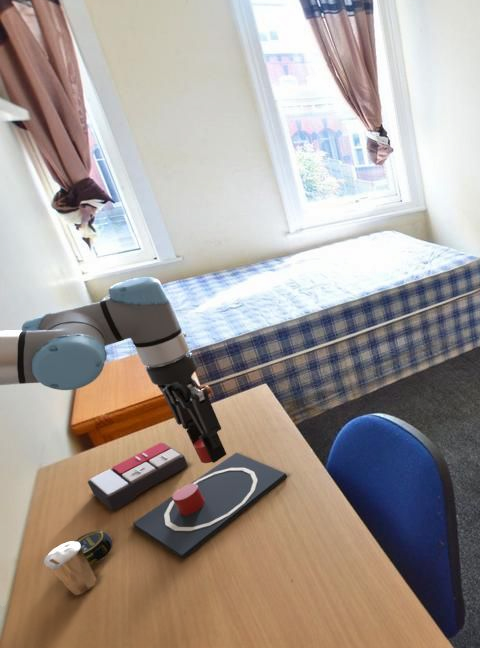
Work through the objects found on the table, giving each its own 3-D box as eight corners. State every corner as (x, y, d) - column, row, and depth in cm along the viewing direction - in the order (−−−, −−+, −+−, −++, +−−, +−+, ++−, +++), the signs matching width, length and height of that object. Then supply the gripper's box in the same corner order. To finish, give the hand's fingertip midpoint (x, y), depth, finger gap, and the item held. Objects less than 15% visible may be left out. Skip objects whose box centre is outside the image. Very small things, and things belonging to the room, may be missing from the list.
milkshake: (62, 608, 78) (32, 566, 74) (72, 582, 82) (44, 542, 78) (96, 594, 80) (68, 553, 76) (104, 570, 84) (78, 529, 80)
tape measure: (65, 563, 86) (55, 548, 85) (110, 536, 91) (101, 522, 90) (74, 581, 82) (64, 567, 81) (120, 553, 87) (111, 538, 86)
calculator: (183, 452, 107) (105, 495, 96) (189, 468, 109) (113, 511, 97) (162, 439, 113) (85, 478, 101) (167, 454, 115) (92, 493, 103)
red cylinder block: (187, 518, 92) (179, 503, 91) (175, 511, 94) (167, 496, 93) (209, 502, 96) (202, 487, 94) (197, 495, 98) (190, 481, 96)
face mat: (183, 559, 85) (181, 555, 84) (134, 526, 93) (132, 522, 93) (287, 476, 102) (285, 472, 101) (237, 455, 110) (236, 452, 110)
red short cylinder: (208, 465, 95) (201, 450, 93) (196, 460, 97) (189, 444, 95) (229, 451, 98) (222, 436, 97) (216, 446, 100) (210, 431, 99)
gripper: (213, 355, 87) (254, 454, 96) (164, 342, 95) (206, 434, 104) (171, 376, 81) (219, 479, 90) (123, 360, 89) (171, 456, 98)
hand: (212, 454), depth 97 cm, fingers closed on red short cylinder, 4 cm apart
